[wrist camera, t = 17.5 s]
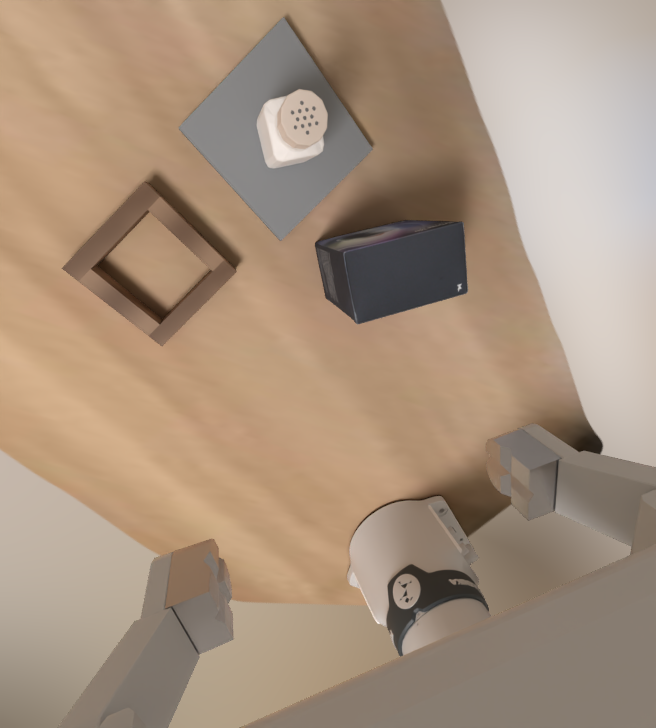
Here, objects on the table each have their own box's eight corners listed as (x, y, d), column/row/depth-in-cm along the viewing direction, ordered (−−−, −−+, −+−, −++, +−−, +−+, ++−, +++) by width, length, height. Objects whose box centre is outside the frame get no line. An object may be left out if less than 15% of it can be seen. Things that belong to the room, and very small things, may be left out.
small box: (408, 214, 40) (467, 216, 31) (415, 276, 43) (471, 295, 33) (312, 239, 38) (343, 249, 29) (325, 301, 41) (357, 329, 32)
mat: (369, 150, 37) (372, 149, 36) (279, 240, 37) (280, 240, 37) (281, 22, 31) (283, 16, 30) (179, 129, 32) (178, 127, 31)
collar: (235, 268, 37) (236, 271, 36) (164, 339, 38) (162, 346, 36) (148, 182, 33) (144, 181, 31) (70, 265, 34) (61, 268, 32)
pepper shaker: (253, 118, 32) (266, 86, 24) (299, 110, 33) (327, 76, 25) (266, 170, 34) (282, 157, 26) (309, 161, 35) (339, 146, 26)
